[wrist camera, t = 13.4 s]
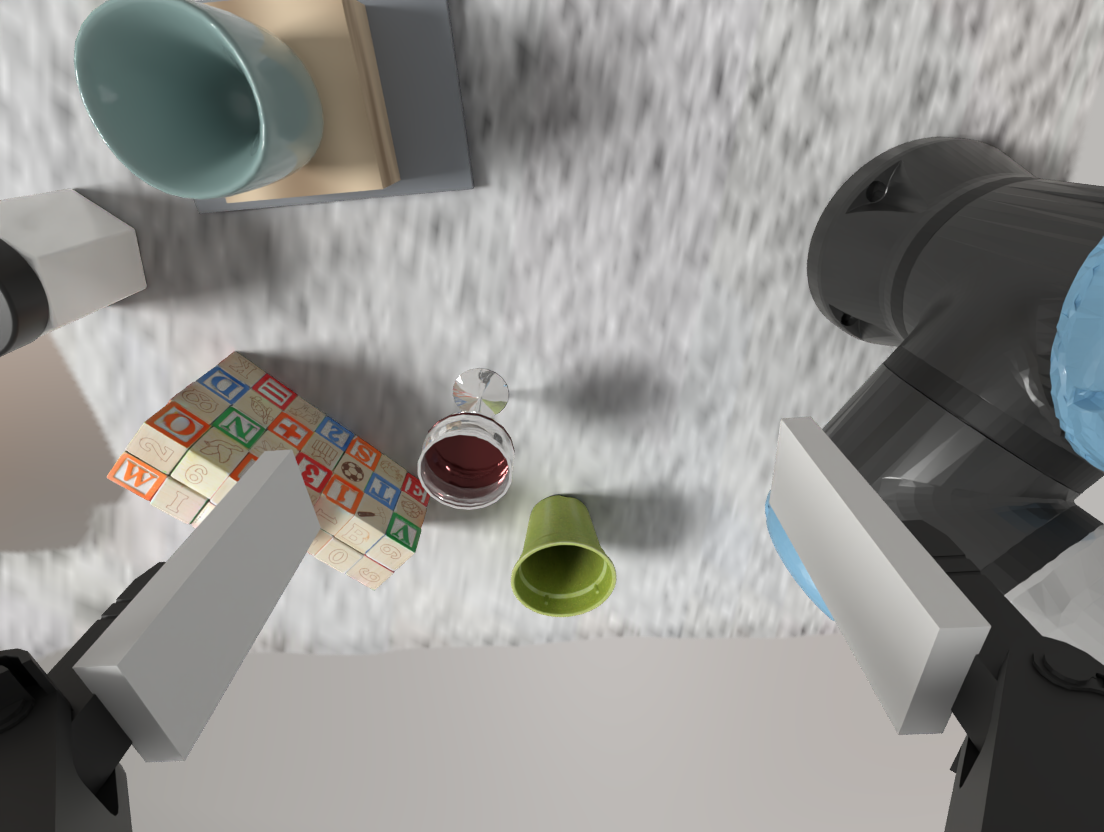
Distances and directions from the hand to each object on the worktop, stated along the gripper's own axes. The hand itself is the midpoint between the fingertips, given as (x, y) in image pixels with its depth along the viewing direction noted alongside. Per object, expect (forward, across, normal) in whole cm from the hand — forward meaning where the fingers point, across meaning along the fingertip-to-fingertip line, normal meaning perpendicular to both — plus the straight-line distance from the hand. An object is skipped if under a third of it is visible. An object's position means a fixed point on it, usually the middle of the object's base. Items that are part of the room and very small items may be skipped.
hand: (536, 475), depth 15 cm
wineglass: (+31, +7, +12) cm, 34 cm away
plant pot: (+31, +1, +27) cm, 42 cm away
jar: (+30, +35, -3) cm, 46 cm away
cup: (+24, +15, -11) cm, 31 cm away
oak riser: (+29, +15, -11) cm, 35 cm away
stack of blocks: (+31, +23, +16) cm, 42 cm away
